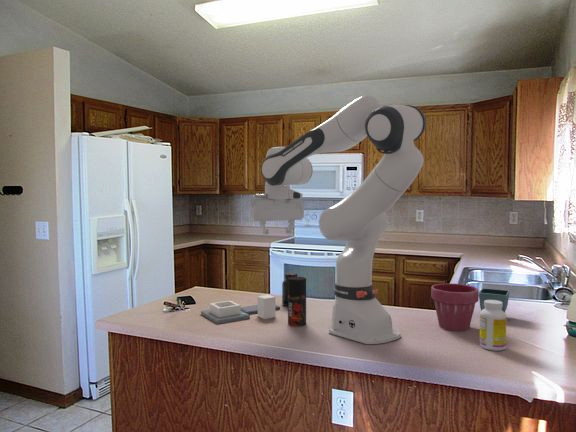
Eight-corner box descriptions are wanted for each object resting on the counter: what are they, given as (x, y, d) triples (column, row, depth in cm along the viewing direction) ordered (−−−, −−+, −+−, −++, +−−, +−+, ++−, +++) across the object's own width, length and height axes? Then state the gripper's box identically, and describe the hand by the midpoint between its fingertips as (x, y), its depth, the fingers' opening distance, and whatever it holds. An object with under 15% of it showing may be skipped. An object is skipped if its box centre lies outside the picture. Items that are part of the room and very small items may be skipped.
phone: (270, 305, 173) (270, 302, 173) (280, 309, 167) (280, 306, 167) (237, 310, 165) (237, 307, 165) (246, 314, 160) (246, 312, 159)
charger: (275, 317, 157) (275, 297, 157) (264, 319, 154) (264, 298, 154) (268, 314, 161) (268, 294, 160) (257, 316, 158) (257, 296, 158)
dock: (249, 318, 155) (249, 306, 155) (217, 324, 149) (217, 311, 148) (231, 309, 167) (231, 298, 167) (200, 314, 160) (200, 302, 160)
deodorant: (309, 322, 150) (309, 277, 149) (300, 327, 145) (300, 280, 144) (293, 320, 153) (293, 276, 152) (284, 324, 148) (284, 279, 147)
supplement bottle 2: (509, 347, 127) (510, 301, 126) (501, 353, 122) (502, 305, 121) (484, 341, 131) (485, 297, 130) (475, 347, 126) (476, 301, 125)
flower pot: (481, 312, 163) (482, 287, 162) (509, 316, 158) (509, 290, 157) (477, 318, 155) (478, 292, 154) (506, 322, 150) (507, 295, 150)
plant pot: (421, 323, 150) (422, 284, 149) (456, 319, 154) (457, 281, 154) (450, 336, 136) (451, 293, 135) (488, 331, 141) (489, 290, 140)
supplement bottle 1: (298, 307, 170) (298, 275, 169) (280, 306, 171) (280, 274, 170) (301, 303, 176) (301, 272, 176) (284, 302, 178) (284, 271, 177)
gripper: (255, 194, 151) (255, 235, 152) (306, 194, 162) (306, 232, 163) (246, 193, 156) (246, 234, 157) (296, 193, 167) (296, 231, 168)
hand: (277, 233), depth 160 cm, fingers open, 8 cm apart
